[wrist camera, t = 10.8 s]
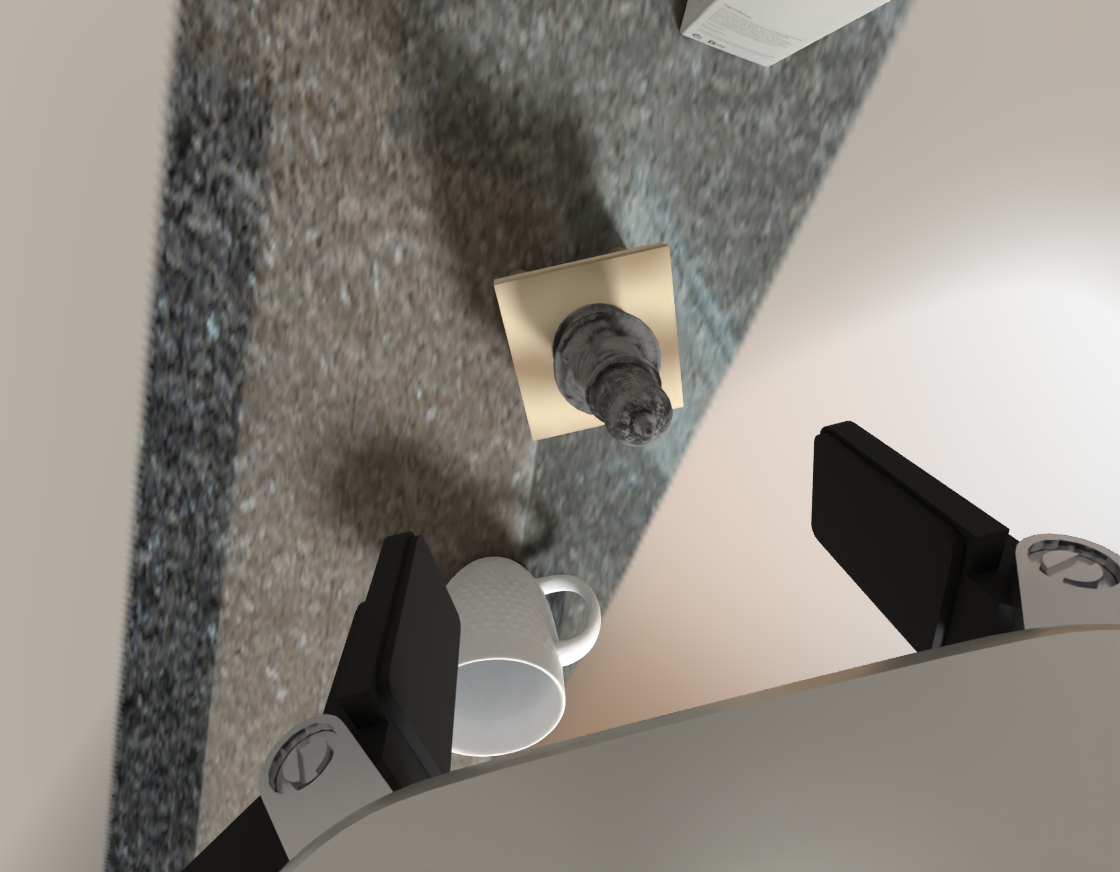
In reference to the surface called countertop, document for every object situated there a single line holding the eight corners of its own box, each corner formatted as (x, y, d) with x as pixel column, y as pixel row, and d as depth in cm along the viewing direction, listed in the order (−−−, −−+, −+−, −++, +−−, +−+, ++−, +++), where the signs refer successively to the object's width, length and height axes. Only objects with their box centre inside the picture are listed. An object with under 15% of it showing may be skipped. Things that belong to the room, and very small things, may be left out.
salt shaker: (537, 311, 28) (560, 381, 18) (637, 286, 28) (720, 342, 18) (559, 403, 31) (590, 513, 20) (650, 381, 31) (729, 479, 20)
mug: (570, 508, 44) (596, 621, 33) (600, 594, 49) (632, 718, 38) (414, 557, 45) (384, 686, 33) (459, 637, 50) (448, 773, 38)
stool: (494, 265, 35) (493, 285, 27) (634, 234, 35) (669, 245, 28) (527, 395, 39) (533, 440, 32) (650, 367, 39) (683, 406, 32)
